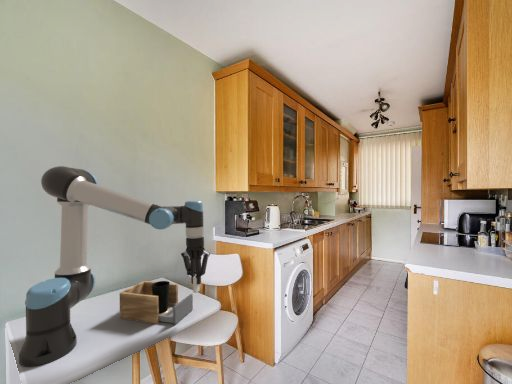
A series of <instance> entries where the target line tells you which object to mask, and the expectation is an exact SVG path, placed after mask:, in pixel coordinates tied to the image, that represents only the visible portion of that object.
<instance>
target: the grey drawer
mask: <svg viewBox="0 0 512 384" xmlns="http://www.w3.org/2000/svg"><path fill="white" fill-rule="evenodd" d="M193 302H194V299H193V293H190V294H188V296H186V297H185V298H183V299H181V301H178V304H177V303H169V302H168V310H167V311H166V312H164V313H161V314H159V322H163V323H169V324H171V323H172V324H173V325H177V324H178V323H179V322H180V321H182V320H183V319H184V318H185V317H187V315H188V314H190V312H192V310H194V304H193Z"/></svg>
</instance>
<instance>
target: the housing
mask: <svg viewBox="0 0 512 384" xmlns="http://www.w3.org/2000/svg"><path fill="white" fill-rule="evenodd" d="M155 282H156V281H151V280H143V281H141V282H139V283H137V284H135V285H133V286H131V287H129V288H127V289H124V290H123V291H121V292H119V319H123V320H129V321H135V322H137V321H138V322H141V323H142V322H143V323H148V324H149V323H150V324H159V322H160V321H159V299H158V296H154V295H152V286H151V285H152V284H153V283H155ZM168 302H169V303H177V304H178V303H179V284H178V283H171V282H170V286H169V299H168Z"/></svg>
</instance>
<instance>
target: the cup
mask: <svg viewBox="0 0 512 384" xmlns="http://www.w3.org/2000/svg"><path fill="white" fill-rule="evenodd" d="M154 282H155V283H153V284H152V285H151V286H152V295H154V296H158V299H159V314H161V313H164V312H166V311H167V310H168V299H169V286H170V283H171V282H169V281H168V280H160V281H154Z"/></svg>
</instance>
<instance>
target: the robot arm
mask: <svg viewBox="0 0 512 384" xmlns="http://www.w3.org/2000/svg"><path fill="white" fill-rule="evenodd" d="M40 182H41V187H42V190H44V192H45V193H46V194H48V195H49V196H51V197H54V198H56V203H57V204H58V205H59V206H60V207H61V219H60V220H61V222H60V223H61V226H60V250H59V253H60V254H59V255H60V256H59V258H60V259H59V267H58V268H57V269H56V270H55V271H54V278H50V279H46V280H45V281H44V280H43V281H40V282H38V283H36V284H34V285H32V286H31V287H30V288H29V289H28V290H27V292H26V295H25V301H24V305H25V337H24V340H23V343H22V345H21V349H20V350H19V354H18V363H19V365H20V366H22V365H24V366H23V367H36V366H41V365H44V364H48V363H51V362H53V361H56V360H58V359H60V358H62V357H64V356H66V355H67V354H69V353H70V352H71V351H72V350H74V349H75V347H76V346H77V342H78V341H77V334H76V332H75V330H74V327H73V326H72V323H71V309H72V308H73V307H75V306H76V305H77V304H79V303H80V302H82V301H83V300H85V299H86V298H87V297H88V296H89V295H90V294H91V293H92V291H93V290H94V288H95V287H96V286H95V285H96V276H95V274H94V273H93V272H92V268H91V266H90V265H89V264H87V263H88V262H87V258H88V257H87V255H88V225H89V223H88V222H89V221H88V219H89V206H93V207H96V208H99V209H101V210H104V211H108V212H111V213H114V214H117V215H120V216H123V217H127V218H130V219H133V220H136V221H139V222H142V223H145V224H147V225H150V226H151V227H152V228H154V229H156V230H165V229H167V228H169V227H171V226H172V225H177V224H178V225H180V224H182V225H183V224H185V237H186V238H185V245H186V248H185V251H183V252H181V253H180V255H181V257H182V259H183V263H184V267H185V271H186V275H187V276H190V277H191V278H190V279H191V285H192V290H193V293H198V292H199V291H200V290H201V289H200V285H201V284H202V276H204V275H205V274H206V270H207V265H208V260H209V257H210V256H211V252H207V251H206V249H205V238H204V235H205V234H204V232H205V231H204V205H203V202H202V201H200V200H187V201H185V202H184V205H180V206H177V205H175V206H173V205H172V206H161V205H158V204H154V203H151V202H150V201H149V202H148V201H146V200H143V199H141V198H138V197H134V196H132V195H128V194H126V193H123V192H119V191H117V190H113V189H111V188H108V187H105V186H102V185H100V184H99V183H98V182H99V181H98V179H97V178H96V176H95V175H94V174H93V173H91V172H90V171H87V170H85V169H82V168H81V169H80V168H75V167H69V166H64V165H62V166H54V167H51V168H49V169H48V170H46V171H45V172H44V173H43V175H42V176H41V180H40ZM193 293H192V294H193Z"/></svg>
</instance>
